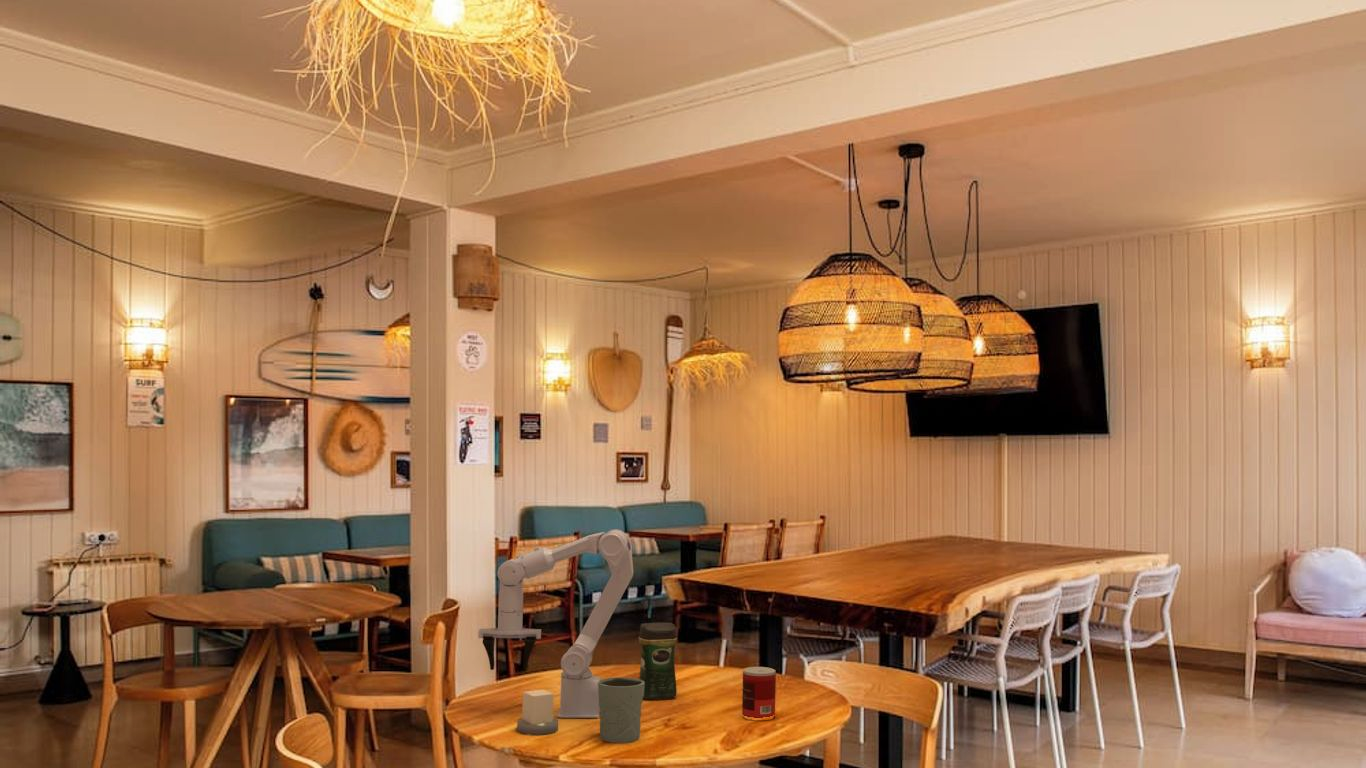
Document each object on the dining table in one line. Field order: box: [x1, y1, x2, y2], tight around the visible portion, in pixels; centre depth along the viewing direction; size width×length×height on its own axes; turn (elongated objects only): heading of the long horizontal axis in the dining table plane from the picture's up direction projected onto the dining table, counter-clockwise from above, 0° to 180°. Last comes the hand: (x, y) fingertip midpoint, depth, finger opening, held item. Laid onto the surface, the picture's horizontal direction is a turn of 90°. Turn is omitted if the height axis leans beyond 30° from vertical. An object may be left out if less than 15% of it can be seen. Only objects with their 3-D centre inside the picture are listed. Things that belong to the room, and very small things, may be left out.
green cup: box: [598, 676, 644, 744], centre depth 230 cm, size 10×10×12 cm
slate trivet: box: [516, 716, 559, 736], centre depth 235 cm, size 9×9×2 cm
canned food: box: [741, 666, 777, 718], centre depth 251 cm, size 8×8×11 cm
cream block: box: [521, 689, 555, 724], centre depth 235 cm, size 5×5×6 cm
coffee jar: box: [638, 622, 678, 700], centre depth 269 cm, size 10×8×19 cm
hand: (508, 669), depth 250 cm, fingers open, 7 cm apart
